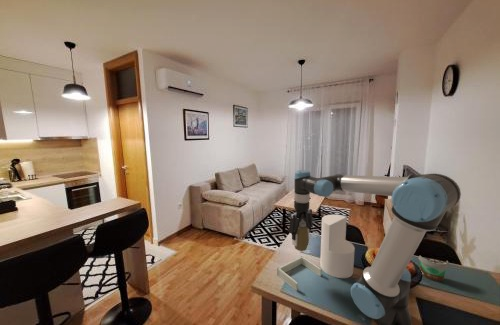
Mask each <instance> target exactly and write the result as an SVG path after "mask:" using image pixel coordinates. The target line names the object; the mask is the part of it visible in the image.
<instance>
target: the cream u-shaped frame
mask: <svg viewBox="0 0 500 325" xmlns="http://www.w3.org/2000/svg"><path fill="white" fill-rule="evenodd" d="M301 265H303V266H305V267H306V268H307V269H308V270H311V272H313V273H314V274H316V275H317V276H319V277H322V274H323V273H322V272H323V270H322V268H321V267H320V266H318V265H316V264H315V263H313V262H312V261H310V260H309V259H307V258H305V257H304V256H301V255H300V256H299V257H297V258H296V259H292V260H291V261H289V262H287V263H285V264H283V265H281V266H279V267H277V268H276V275H277V276H278V277H279V278H280V279H281V280H283V281H284V282H285V283H286V284H287V285H289V286H290V288H292V289H293V290H295V292H297V291H298V290H299V283H298V281H296V280H295V279H294V278H293V277H291V276H290V275H289V274H287V273H286V272H289V271H291V270H293V269H295V268H297V267H299V266H301Z"/></svg>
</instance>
